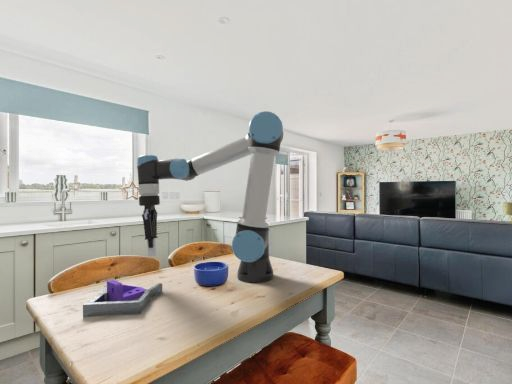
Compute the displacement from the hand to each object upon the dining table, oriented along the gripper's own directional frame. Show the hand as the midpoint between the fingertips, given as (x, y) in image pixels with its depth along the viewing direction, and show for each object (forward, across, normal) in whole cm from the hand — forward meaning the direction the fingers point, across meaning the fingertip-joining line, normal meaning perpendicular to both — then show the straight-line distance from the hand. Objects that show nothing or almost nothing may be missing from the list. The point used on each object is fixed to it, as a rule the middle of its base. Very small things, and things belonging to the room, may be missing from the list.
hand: (152, 255), depth 109 cm
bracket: (+12, +13, -5) cm, 18 cm away
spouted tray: (+11, +17, -5) cm, 21 cm away
